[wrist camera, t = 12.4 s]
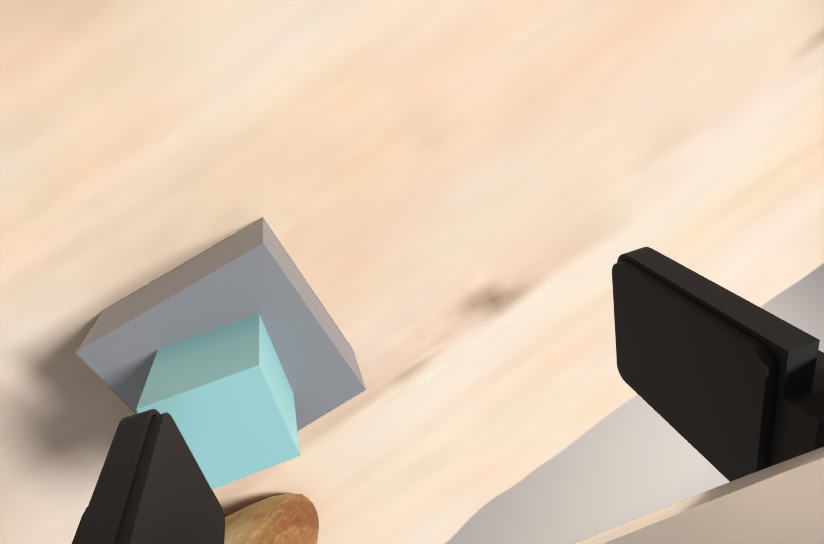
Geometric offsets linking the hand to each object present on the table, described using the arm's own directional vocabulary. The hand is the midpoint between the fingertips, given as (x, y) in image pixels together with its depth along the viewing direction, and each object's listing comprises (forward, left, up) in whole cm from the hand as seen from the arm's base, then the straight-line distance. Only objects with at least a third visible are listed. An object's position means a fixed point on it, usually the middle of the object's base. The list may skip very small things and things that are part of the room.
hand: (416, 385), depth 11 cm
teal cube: (+9, -9, -21) cm, 25 cm away
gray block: (+10, -8, -27) cm, 30 cm away
